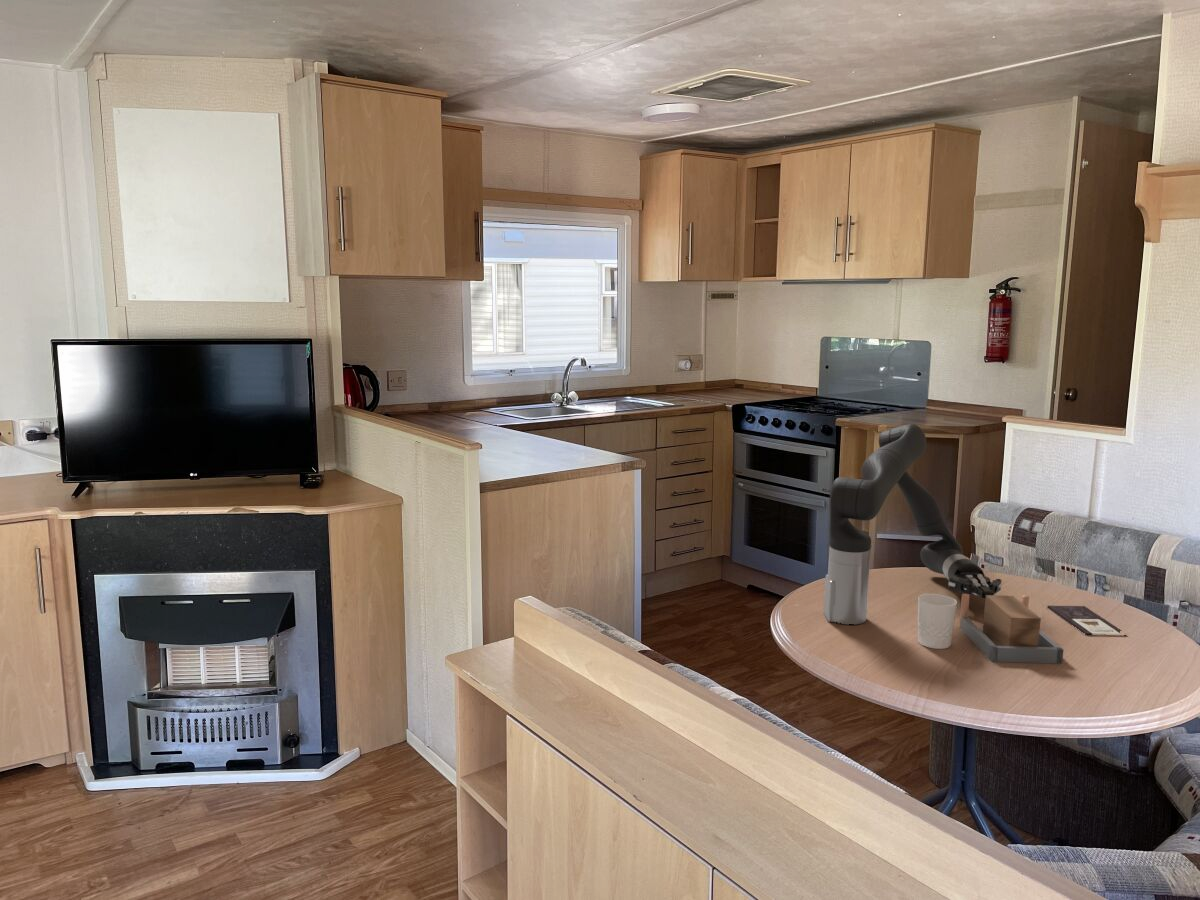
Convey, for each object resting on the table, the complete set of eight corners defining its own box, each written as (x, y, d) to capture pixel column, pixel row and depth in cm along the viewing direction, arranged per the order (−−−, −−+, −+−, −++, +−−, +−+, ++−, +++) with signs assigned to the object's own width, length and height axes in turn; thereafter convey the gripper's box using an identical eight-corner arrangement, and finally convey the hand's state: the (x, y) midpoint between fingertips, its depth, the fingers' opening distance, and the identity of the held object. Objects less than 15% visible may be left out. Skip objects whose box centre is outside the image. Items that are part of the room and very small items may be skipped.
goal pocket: (990, 661, 187) (993, 624, 186) (958, 626, 206) (960, 593, 205) (1063, 663, 187) (1067, 626, 185) (1024, 628, 206) (1027, 595, 204)
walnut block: (1007, 658, 189) (1011, 617, 188) (982, 633, 203) (985, 595, 202) (1036, 659, 189) (1040, 618, 188) (1009, 634, 203) (1013, 595, 201)
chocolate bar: (1084, 606, 220) (1126, 633, 202) (1084, 609, 220) (1126, 637, 202) (1047, 605, 220) (1086, 633, 202) (1047, 609, 220) (1085, 637, 202)
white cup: (947, 637, 200) (951, 594, 199) (957, 651, 193) (961, 606, 191) (911, 635, 201) (914, 592, 199) (919, 649, 193) (923, 605, 192)
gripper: (936, 557, 225) (960, 579, 208) (990, 558, 224) (1019, 581, 207) (934, 586, 226) (957, 610, 209) (988, 587, 226) (1016, 612, 209)
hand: (988, 596), depth 208 cm, fingers closed
